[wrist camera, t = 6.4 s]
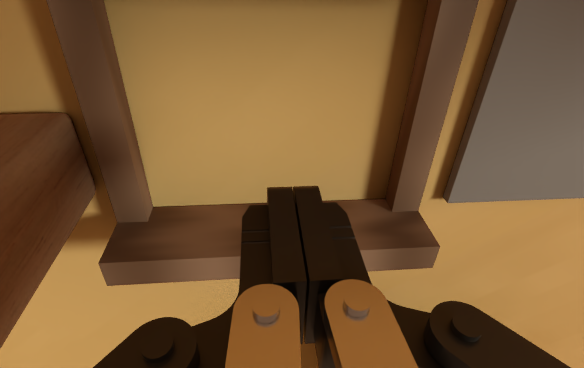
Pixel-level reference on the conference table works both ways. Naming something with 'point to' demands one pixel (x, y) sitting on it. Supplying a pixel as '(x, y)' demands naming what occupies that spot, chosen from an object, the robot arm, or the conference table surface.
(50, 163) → the wooden block
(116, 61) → the wooden frame
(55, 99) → the conference table surface
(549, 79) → the pad
